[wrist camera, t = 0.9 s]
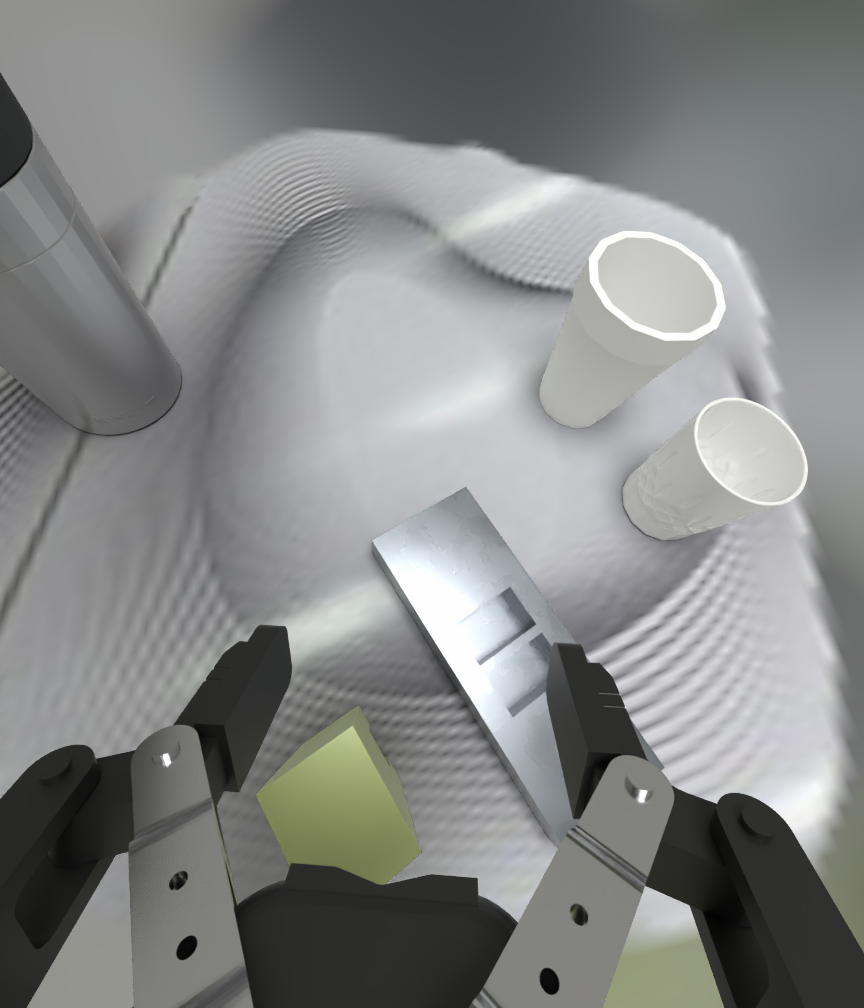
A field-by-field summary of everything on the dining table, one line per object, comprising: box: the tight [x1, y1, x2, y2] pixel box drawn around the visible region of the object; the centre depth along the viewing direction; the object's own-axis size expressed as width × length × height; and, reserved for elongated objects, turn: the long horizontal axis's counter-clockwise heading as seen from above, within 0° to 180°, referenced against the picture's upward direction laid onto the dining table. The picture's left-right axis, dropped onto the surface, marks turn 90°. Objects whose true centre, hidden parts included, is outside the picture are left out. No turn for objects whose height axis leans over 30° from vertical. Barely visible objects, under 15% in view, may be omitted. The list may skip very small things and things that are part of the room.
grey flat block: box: [372, 487, 664, 848], centre depth 30 cm, size 22×8×3 cm, turn 33°
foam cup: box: [539, 231, 726, 428], centre depth 35 cm, size 10×9×13 cm
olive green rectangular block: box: [255, 705, 422, 885], centre depth 22 cm, size 5×4×13 cm
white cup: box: [622, 398, 808, 541], centre depth 33 cm, size 8×8×10 cm
